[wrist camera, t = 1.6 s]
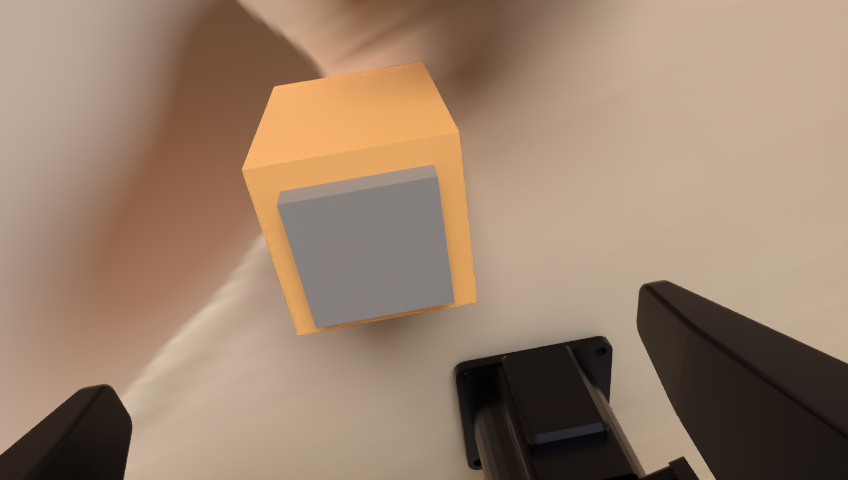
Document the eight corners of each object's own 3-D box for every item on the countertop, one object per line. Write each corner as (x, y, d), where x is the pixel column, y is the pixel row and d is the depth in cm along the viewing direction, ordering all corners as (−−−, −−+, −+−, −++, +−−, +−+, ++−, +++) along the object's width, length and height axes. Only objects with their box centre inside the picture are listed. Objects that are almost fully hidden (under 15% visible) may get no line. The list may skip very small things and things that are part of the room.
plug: (440, 193, 18) (482, 318, 13) (310, 216, 18) (296, 352, 13) (422, 61, 16) (464, 142, 11) (274, 86, 16) (236, 182, 10)
